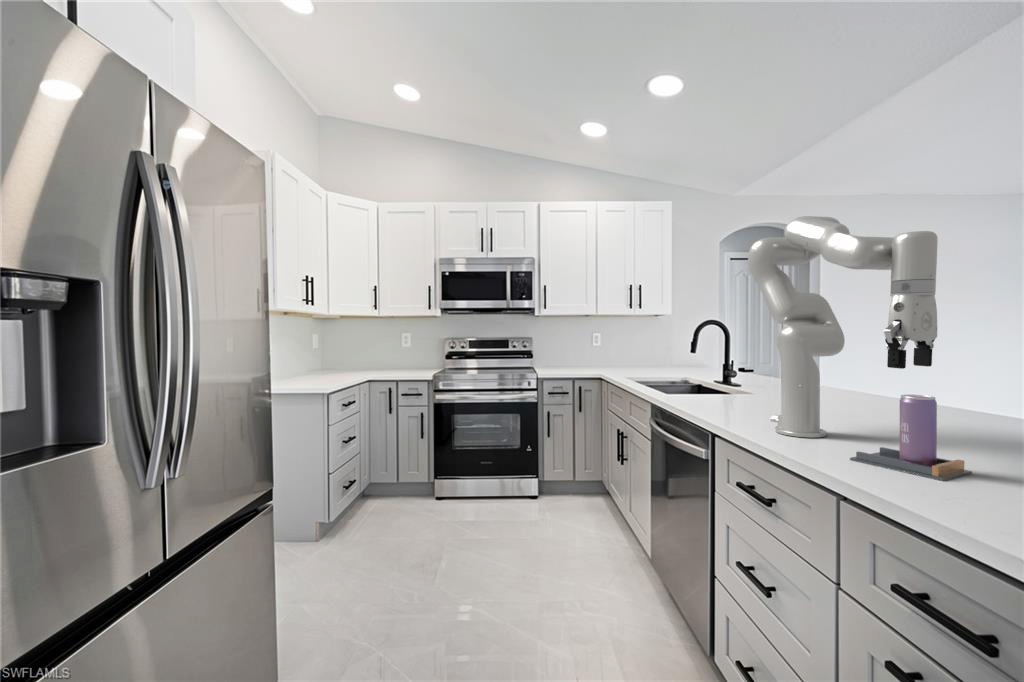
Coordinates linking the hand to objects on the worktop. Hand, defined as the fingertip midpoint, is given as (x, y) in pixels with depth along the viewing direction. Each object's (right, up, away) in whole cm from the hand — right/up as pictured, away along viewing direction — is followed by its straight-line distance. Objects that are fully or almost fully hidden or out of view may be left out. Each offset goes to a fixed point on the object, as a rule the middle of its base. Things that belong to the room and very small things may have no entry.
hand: (909, 366), depth 103 cm
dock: (-2, -22, -1) cm, 22 cm away
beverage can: (-1, -21, -4) cm, 22 cm away
